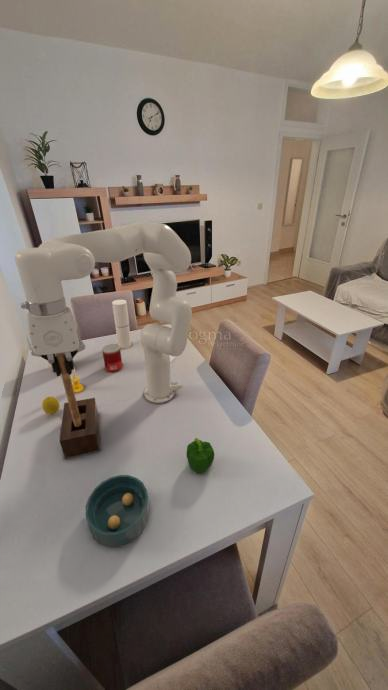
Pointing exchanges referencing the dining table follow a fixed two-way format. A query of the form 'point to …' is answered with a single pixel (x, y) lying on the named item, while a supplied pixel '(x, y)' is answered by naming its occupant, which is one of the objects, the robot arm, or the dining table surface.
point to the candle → (76, 382)
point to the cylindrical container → (121, 323)
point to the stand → (80, 429)
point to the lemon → (50, 405)
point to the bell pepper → (200, 455)
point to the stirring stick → (69, 389)
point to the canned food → (112, 357)
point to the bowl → (117, 510)
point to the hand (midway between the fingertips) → (64, 372)
